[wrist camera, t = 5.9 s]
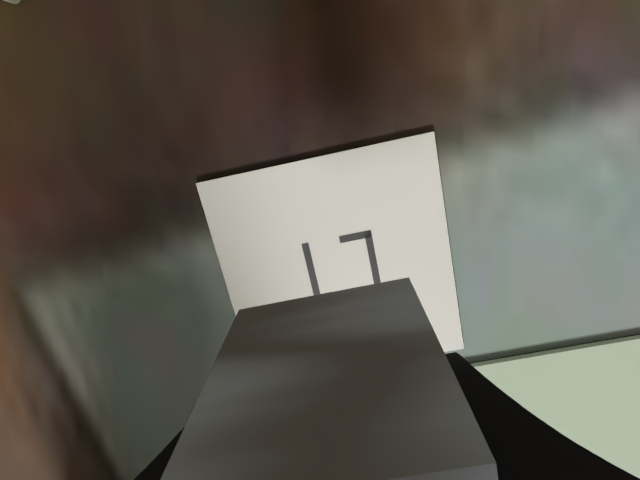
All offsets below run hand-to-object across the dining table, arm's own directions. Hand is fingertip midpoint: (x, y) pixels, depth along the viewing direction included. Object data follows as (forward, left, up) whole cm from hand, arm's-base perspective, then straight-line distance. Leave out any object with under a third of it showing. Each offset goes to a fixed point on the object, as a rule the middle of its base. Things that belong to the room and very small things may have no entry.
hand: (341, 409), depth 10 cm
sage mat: (+9, -10, -9) cm, 17 cm away
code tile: (0, 0, -9) cm, 9 cm away
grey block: (0, 0, -2) cm, 2 cm away
